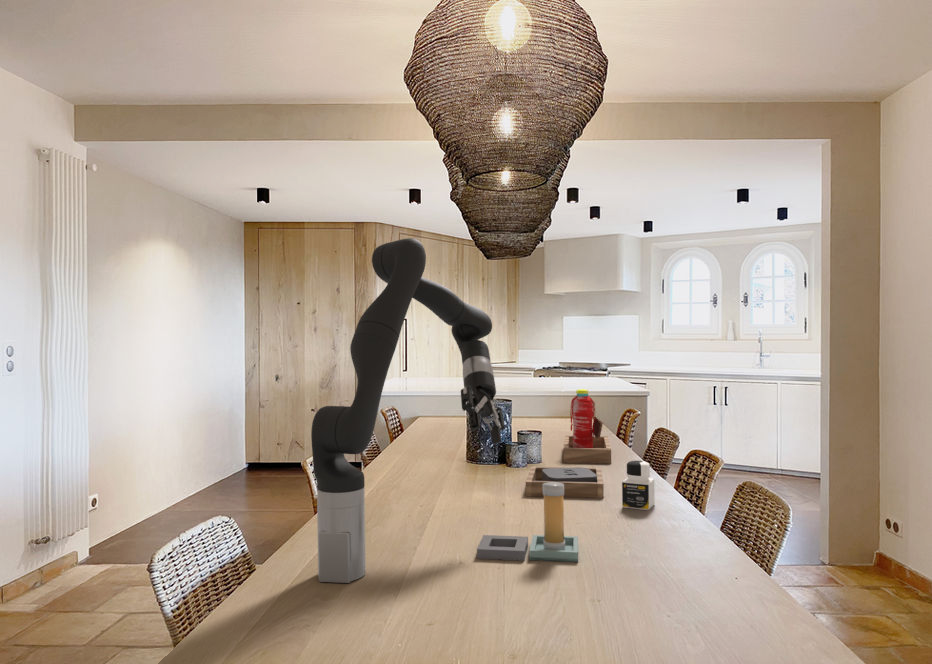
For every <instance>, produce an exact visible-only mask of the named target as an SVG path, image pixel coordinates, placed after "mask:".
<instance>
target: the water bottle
mask: <svg viewBox="0 0 932 664" xmlns="http://www.w3.org/2000/svg"><path fill="white" fill-rule="evenodd" d="M595 411H596V401H594V400H593V399H592V397H590V395H589V390H588V389H584V388H583V389H582V388H580V389H577V390H576V395H575V397H573V398H572V400H571V403H570V412H569V413H570V415H569V416H570V432H572V436H573V448H593V440H594V436H595V437H596V438H598V437H599V438H600V436H601V435H602V434H601V432H602V430H603V424H604V422H602V421H601V420H600V419H598V418H597V417H596V416H595Z"/></svg>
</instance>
